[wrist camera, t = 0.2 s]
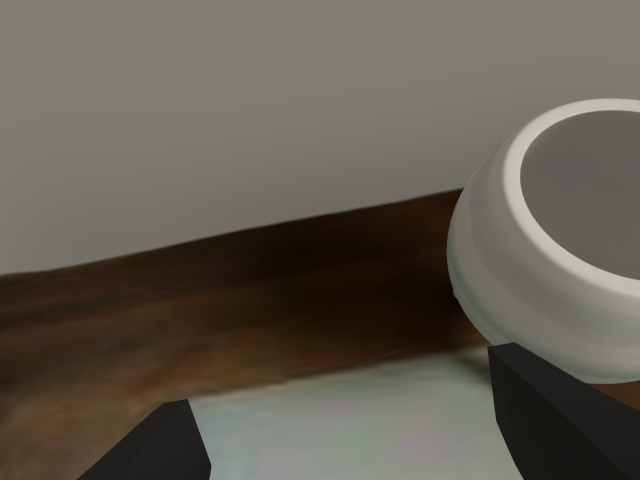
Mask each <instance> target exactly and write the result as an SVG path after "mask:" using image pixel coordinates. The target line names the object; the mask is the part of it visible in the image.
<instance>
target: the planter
mask: <svg viewBox="0 0 640 480" xmlns="http://www.w3.org/2000/svg"><path fill="white" fill-rule="evenodd" d="M447 262H448V270H449V275H450V279H451V283H452V286H453V294H454V296H455V297H456V299H458V301H459V303H460V305H461V307H462V309H463V310H464V312H465V314H466V315H467V317H468V318H469V319H470V321H471V322H472V324H473V325H474V326H475V327H476V328H477V330H478V331H479V332H480V333H481V334H482V335H483V336H484V337H485V338H486V339H487V340H488V341H489V342H490V343H492V344H493V345H494V346H495V345H501V344H507V343H512V342H515V343H517V344H519V345H521V346H522V347H524V348H526V349H528V350H529V351H531V352H533V353H534V354H536V355H538V356H539V357H541V358H543V359H544V360H546V361H548V362H550V363H551V364H553V365H555V366H556V367H558V368H560V369H561V370H563V371H565V372H567V373H568V374H570V375H572V376H574V377H575V378H577V379H579V380H581V381H582V382H584V383H594V384H613V383H623V382H631V381H637V380H640V101H638V100H629V99H593V100H585V101H579V102H574V103H570V104H566V105H563V106H560V107H557V108H554V109H552V110H549V111H547V112H545V113H543V114H541V115H539V116H537V117H535V118H533V119H532V120H530V121H528V122H527V123H525V124H523V125H522V126H521V127H519V128H518V129H516V130H515V131H514V132H512V133H511V134H510V135H509V136H508V137H506V138H505V139H504V140H503V141H502V142H501V143H500V144H498V146H497V147H495V149H493V150H492V151H491V153H490V154H489V155H488V156H487V157H486V158H485V159H484V161H483V162H482V163H481V164H480V165H479V167H478V168H477V169H476V171H475V172H474V174H473V175H472V177H471V178H470V180H469V181H468V183H467V184H466V186H465V188H464V190H463V192H462V194H461V196H460V198H459V200H458V202H457V205H456V207H455V210H454V213H453V216H452V219H451V223H450V228H449V233H448V241H447Z"/></svg>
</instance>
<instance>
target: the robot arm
mask: <svg viewBox="0 0 640 480" xmlns="http://www.w3.org/2000/svg"><path fill="white" fill-rule="evenodd" d="M487 348H488V356H489V365H490V373H491V381H492V390H493V398H494V406H495V415H496V421H497V424H498V426H499V428H500V431H501V433H502V436H503V438H504V440H505V443H506V445H507V447H508V449H509V452H510V454H511V456H512V458H513V461H514V463H515V465H516V467H517V468H518V470H519V472H520V474H521V475H522V477H523V479H524V480H640V411H638V410H636V409H634V408H632V407H630V406H628V405H626V404H624V403H622V402H620V401H618V400H616V399H614V398H612V397H610V396H608V395H606V394H604V393H603V392H601V391H599V390H597V389H595V388H593V387H591V386H590V385H588V384H586V383H584V382H582V381H581V380H579V379H577V378H575V377H574V376H572V375H570V374H568V373H567V372H565V371H563V370H561V369H560V368H558V367H556V366H555V365H553V364H551V363H550V362H548V361H546V360H544V359H543V358H541V357H539V356H538V355H536V354H534V353H533V352H531V351H529V350H528V349H526V348H524V347H522V346H521V345H519V344H517V343H515V342H512V343H507V344H501V345H495V346H489V347H487ZM211 467H212V466H211V463H210V460H209V457H208V455H207V452H206V449H205V446H204V443H203V441H202V438H201V435H200V432H199V429H198V427H197V424H196V421H195V418H194V415H193V413H192V410H191V407H190V404H189V401H188V399H184V400H179V401H173V402H167V403H163V404H162V405H161V406H160V407H158V408H157V409H156V410H154V411H153V412H152V413H151V414H150V415H149V416H147V417H146V418H145V419H144V420H143V421H142V422H141V423H139V424H138V425H137V426H136V427H135V428H134V429H133V430H132V431H131V432H129V433H128V434H127V435H126V436H125V437H124V438H123V439H122V440H121V441H120V442H118V443H117V444H116V445H115V446H114V447H113V448H112V449H111V450H110V451H108V452H107V453H106V454H105V455H104V456H103V457H102V458H101V459H100V460H99V461H97V462H96V463H95V464H94V465H93V466H92V467H91V468H90V469H88V470H87V471H86V472H85V473H84V474H83V475H81V476H80V477H79V478H78V479H77V480H209V478H210V472H211Z"/></svg>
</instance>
